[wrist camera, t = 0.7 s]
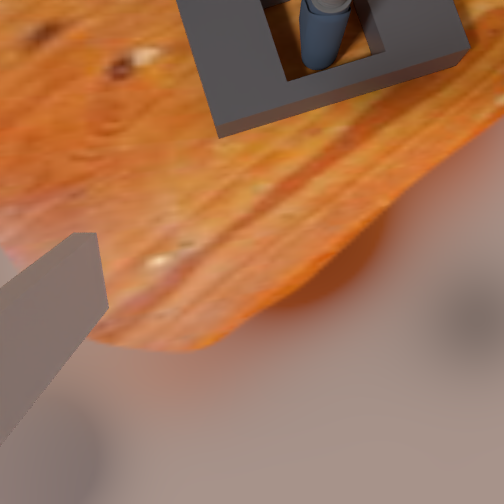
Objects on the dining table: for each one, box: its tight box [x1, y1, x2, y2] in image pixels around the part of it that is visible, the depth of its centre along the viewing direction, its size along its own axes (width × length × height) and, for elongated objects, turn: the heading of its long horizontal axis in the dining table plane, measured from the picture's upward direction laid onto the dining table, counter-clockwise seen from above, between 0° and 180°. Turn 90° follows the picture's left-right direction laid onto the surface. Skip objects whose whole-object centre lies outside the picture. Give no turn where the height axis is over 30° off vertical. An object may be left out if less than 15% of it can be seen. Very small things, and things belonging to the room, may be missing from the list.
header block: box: [176, 0, 471, 139], centre depth 34 cm, size 10×18×2 cm, turn 107°
